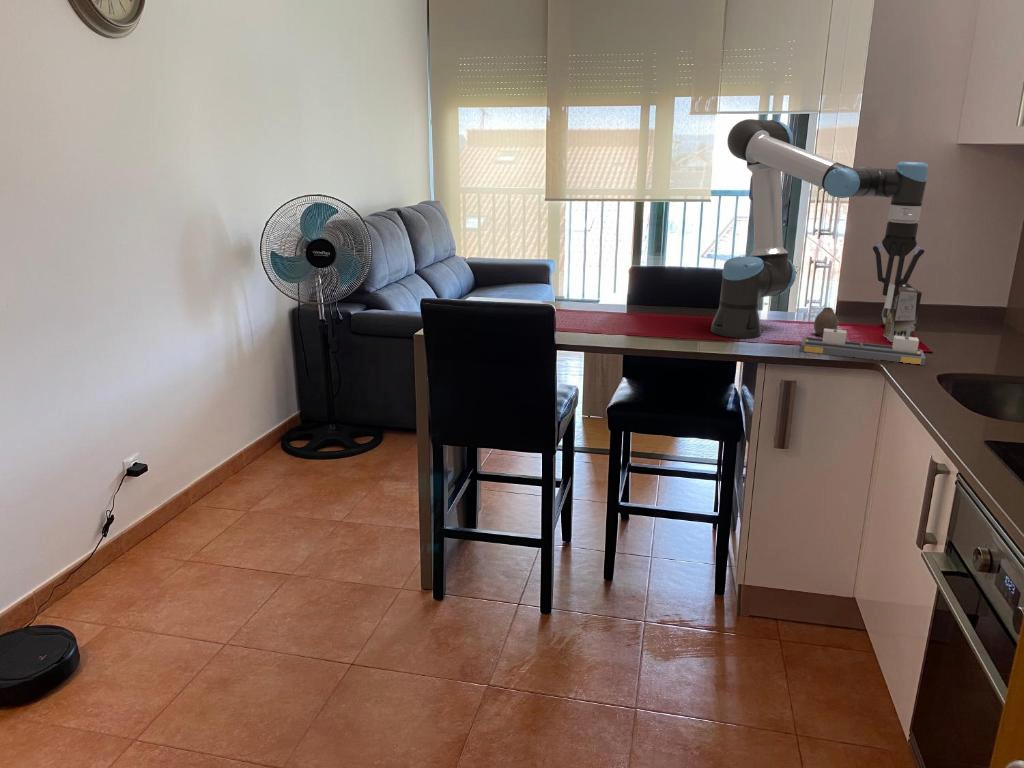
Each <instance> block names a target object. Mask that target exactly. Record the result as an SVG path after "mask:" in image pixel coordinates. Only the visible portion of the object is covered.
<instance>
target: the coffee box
mask: <svg viewBox="0 0 1024 768" xmlns="http://www.w3.org/2000/svg"><path fill="white" fill-rule="evenodd" d="M922 295H923V292H921V291H919V290H917V288H914V287H913V288H910V287H899V291H898V295H897V297H896V296H893V299H892V305H891V309H889V308H888V311H887V317H886V323H885V324H884V330H883V336H884V337H886V338H887V339H888V340H889V341H890V342H893V339H894V335H895V336H908V337H915V336H914V335H915V330H916V325H917V320H918V314H919V310H920V305H921V299H922ZM884 337H883V338H884ZM888 340H887V341H888ZM889 341H888V342H889ZM890 342H889V343H890Z"/></svg>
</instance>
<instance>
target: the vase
mask: <svg viewBox="0 0 1024 768" xmlns="http://www.w3.org/2000/svg"><path fill="white" fill-rule="evenodd" d="M814 319H815V320H814V321H813V329H814V332H815V334H816V335H817V336H819V337H823V333H824V328H826V329H837V330H838V327H839V320H838V317H837V315H836V313H835V312H834V309H833V308H832V307H827V306H826V307H823V309H822V310H821V311H820V312H819V313H818V314H817V316H816V317H815V318H814Z"/></svg>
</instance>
